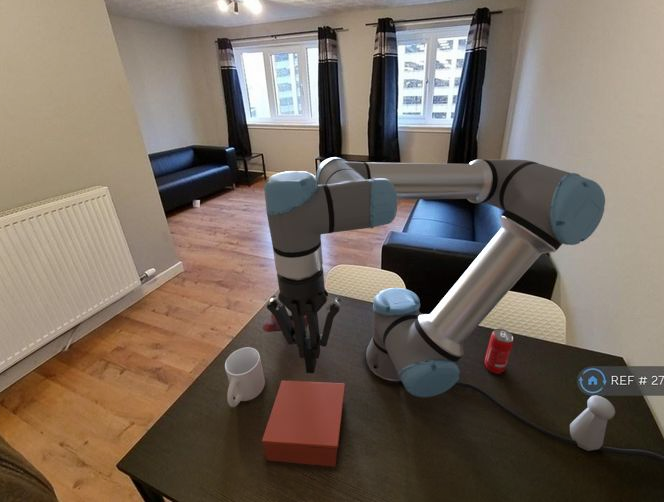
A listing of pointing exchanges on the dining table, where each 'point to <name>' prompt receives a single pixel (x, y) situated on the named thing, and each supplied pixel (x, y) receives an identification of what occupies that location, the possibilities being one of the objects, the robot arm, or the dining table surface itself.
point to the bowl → (274, 326)
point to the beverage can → (498, 350)
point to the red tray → (301, 454)
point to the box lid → (306, 414)
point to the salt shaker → (592, 423)
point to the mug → (244, 375)
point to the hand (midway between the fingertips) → (311, 367)
